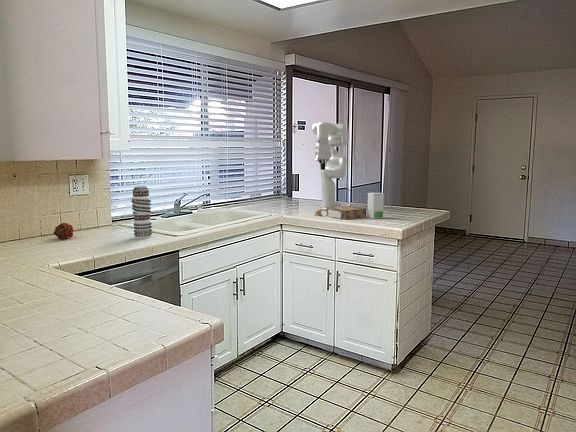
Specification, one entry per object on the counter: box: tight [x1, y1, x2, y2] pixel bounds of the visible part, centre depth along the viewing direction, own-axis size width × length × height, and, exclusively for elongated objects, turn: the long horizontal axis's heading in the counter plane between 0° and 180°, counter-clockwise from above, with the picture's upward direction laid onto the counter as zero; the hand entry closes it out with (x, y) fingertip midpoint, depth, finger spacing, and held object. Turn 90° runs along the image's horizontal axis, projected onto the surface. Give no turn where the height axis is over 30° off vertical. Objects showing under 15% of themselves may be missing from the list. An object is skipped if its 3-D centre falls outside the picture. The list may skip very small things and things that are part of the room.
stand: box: [314, 209, 322, 217], centre depth 295 cm, size 4×4×4 cm
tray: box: [327, 210, 343, 220], centre depth 288 cm, size 15×13×4 cm
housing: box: [326, 205, 367, 221], centre depth 289 cm, size 16×20×5 cm
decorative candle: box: [130, 185, 153, 240], centre depth 225 cm, size 9×9×25 cm
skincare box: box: [366, 192, 385, 219], centre depth 282 cm, size 8×7×16 cm
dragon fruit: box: [53, 222, 74, 240], centre depth 224 cm, size 8×8×12 cm
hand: (322, 169), depth 300 cm, fingers closed
